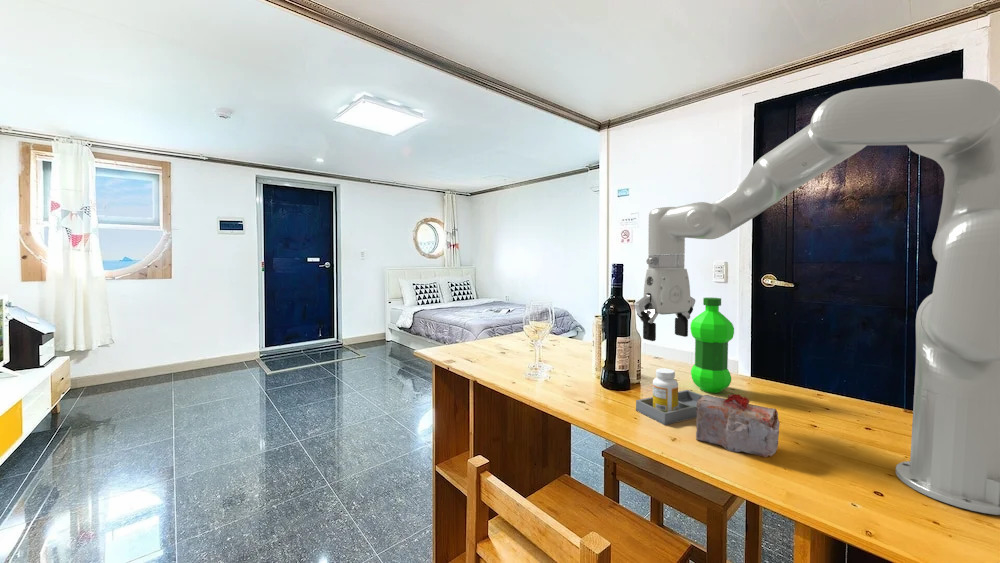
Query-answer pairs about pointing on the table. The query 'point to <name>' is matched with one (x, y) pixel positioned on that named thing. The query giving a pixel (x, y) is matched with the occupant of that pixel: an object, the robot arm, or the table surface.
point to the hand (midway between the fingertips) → (665, 337)
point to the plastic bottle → (711, 347)
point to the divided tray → (684, 412)
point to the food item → (737, 425)
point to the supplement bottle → (665, 390)
